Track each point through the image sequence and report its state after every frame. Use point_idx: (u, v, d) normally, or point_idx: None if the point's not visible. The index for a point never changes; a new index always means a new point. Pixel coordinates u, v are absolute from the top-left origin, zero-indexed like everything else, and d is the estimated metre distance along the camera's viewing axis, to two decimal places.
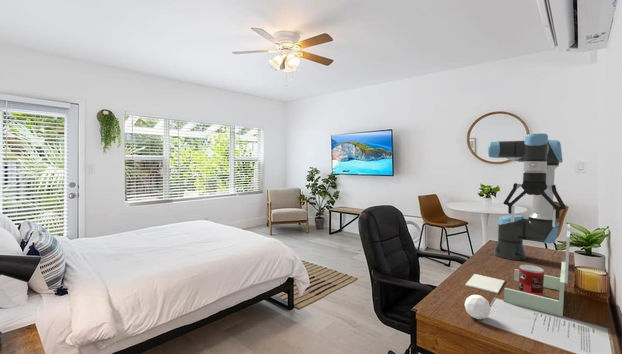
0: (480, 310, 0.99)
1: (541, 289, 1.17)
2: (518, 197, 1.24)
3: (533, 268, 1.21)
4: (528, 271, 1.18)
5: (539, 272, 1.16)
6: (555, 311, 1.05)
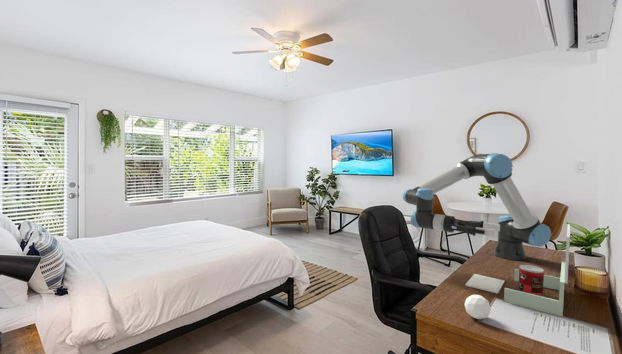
0: (480, 310, 0.99)
1: (541, 289, 1.17)
2: None
3: (533, 268, 1.21)
4: (528, 271, 1.18)
5: (539, 272, 1.16)
6: (555, 311, 1.05)
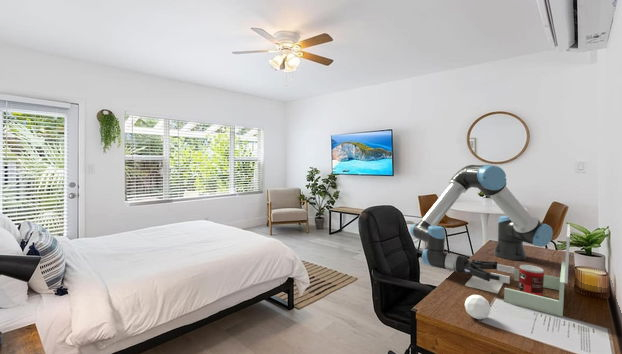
0: (480, 310, 0.99)
1: (541, 289, 1.17)
2: None
3: (533, 268, 1.21)
4: (528, 271, 1.18)
5: (539, 272, 1.16)
6: (555, 311, 1.05)
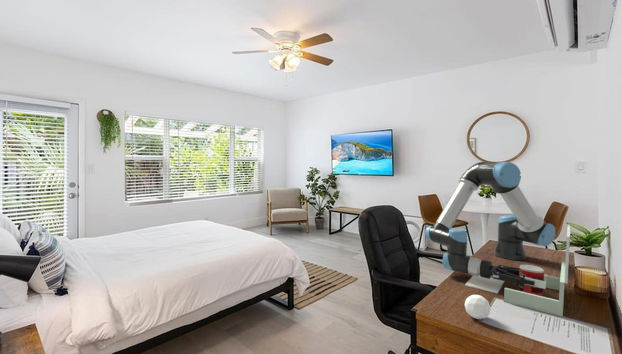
0: (480, 310, 0.99)
1: (541, 289, 1.17)
2: None
3: (533, 268, 1.21)
4: (528, 271, 1.18)
5: (539, 272, 1.16)
6: (555, 311, 1.05)
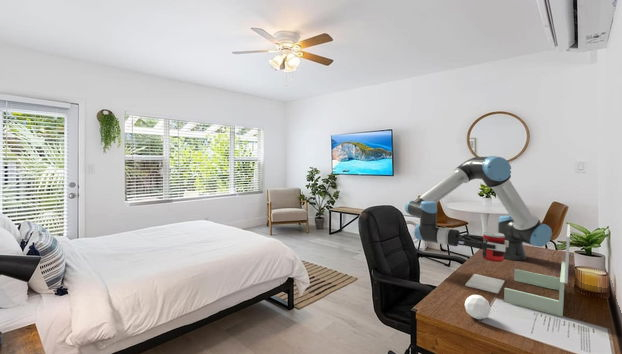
0: (480, 310, 0.99)
1: (502, 253, 1.25)
2: None
3: (495, 234, 1.29)
4: (490, 236, 1.26)
5: (500, 237, 1.24)
6: (555, 311, 1.05)
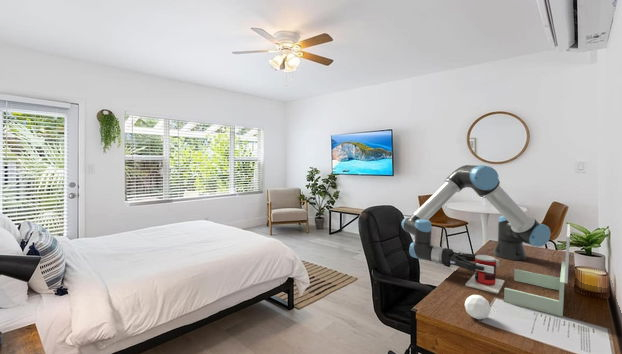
0: (480, 310, 0.99)
1: (493, 276, 1.27)
2: None
3: (487, 257, 1.31)
4: (481, 260, 1.28)
5: (491, 261, 1.27)
6: (555, 311, 1.05)
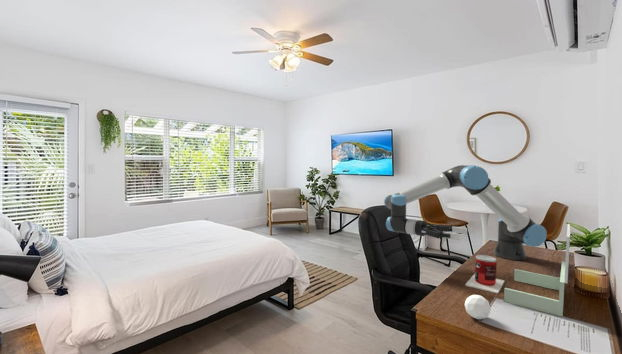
0: (480, 310, 0.99)
1: (494, 277, 1.27)
2: None
3: (487, 258, 1.31)
4: (482, 260, 1.28)
5: (492, 261, 1.27)
6: (555, 311, 1.05)
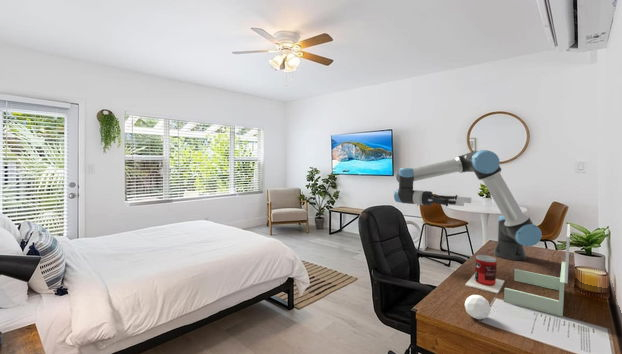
0: (480, 310, 0.99)
1: (494, 277, 1.27)
2: None
3: (487, 258, 1.31)
4: (482, 260, 1.28)
5: (491, 261, 1.27)
6: (555, 311, 1.05)
